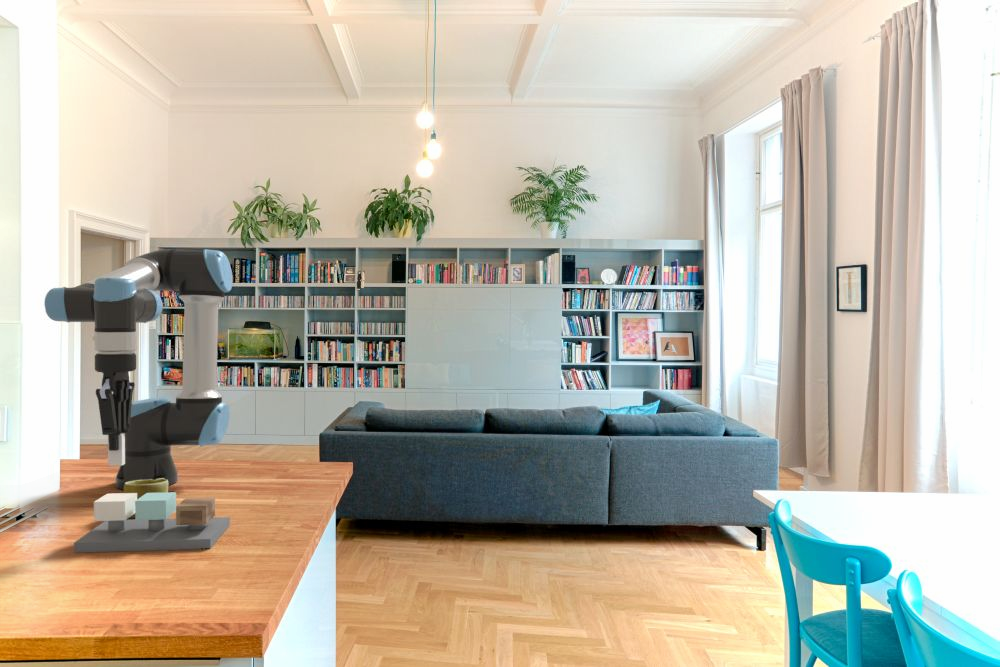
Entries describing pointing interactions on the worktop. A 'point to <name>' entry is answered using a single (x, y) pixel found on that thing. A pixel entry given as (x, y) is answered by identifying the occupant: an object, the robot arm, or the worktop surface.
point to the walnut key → (195, 511)
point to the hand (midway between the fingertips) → (116, 464)
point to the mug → (146, 487)
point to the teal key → (155, 506)
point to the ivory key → (115, 507)
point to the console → (151, 535)
